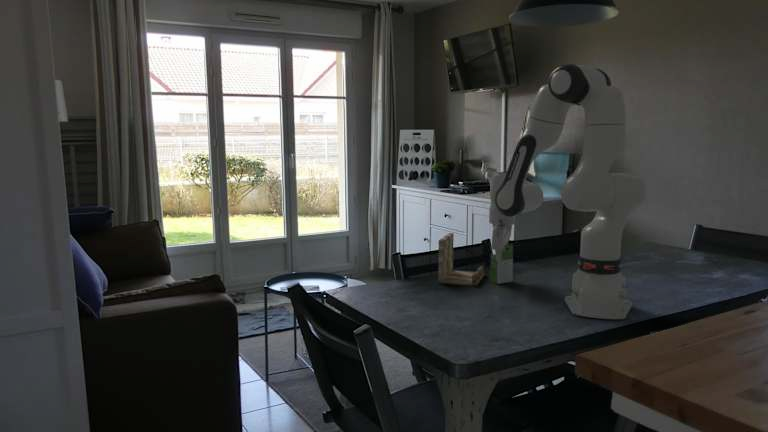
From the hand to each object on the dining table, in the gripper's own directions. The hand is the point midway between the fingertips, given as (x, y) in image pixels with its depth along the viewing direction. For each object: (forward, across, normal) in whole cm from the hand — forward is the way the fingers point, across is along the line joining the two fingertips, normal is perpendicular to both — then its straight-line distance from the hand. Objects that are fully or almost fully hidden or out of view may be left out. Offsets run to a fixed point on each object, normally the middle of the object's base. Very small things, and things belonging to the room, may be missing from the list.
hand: (500, 257), depth 196 cm
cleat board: (+9, -1, +13) cm, 16 cm away
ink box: (+9, -1, -1) cm, 9 cm away
